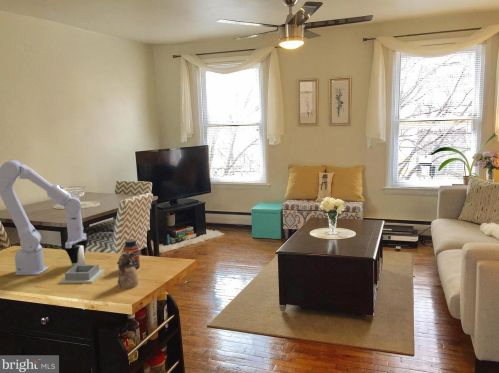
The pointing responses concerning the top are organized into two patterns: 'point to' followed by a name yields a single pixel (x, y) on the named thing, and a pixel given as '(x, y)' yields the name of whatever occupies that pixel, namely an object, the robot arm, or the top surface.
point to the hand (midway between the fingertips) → (78, 260)
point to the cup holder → (82, 274)
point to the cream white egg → (80, 256)
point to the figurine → (127, 271)
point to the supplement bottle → (134, 248)
